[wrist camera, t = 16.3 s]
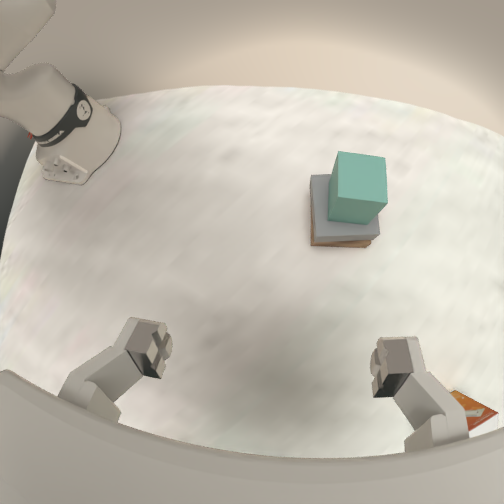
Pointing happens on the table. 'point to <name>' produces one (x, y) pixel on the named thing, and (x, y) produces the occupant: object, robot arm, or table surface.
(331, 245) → the tower base
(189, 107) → the table surface
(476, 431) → the small box
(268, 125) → the table surface
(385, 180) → the teal block
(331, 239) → the tower top
